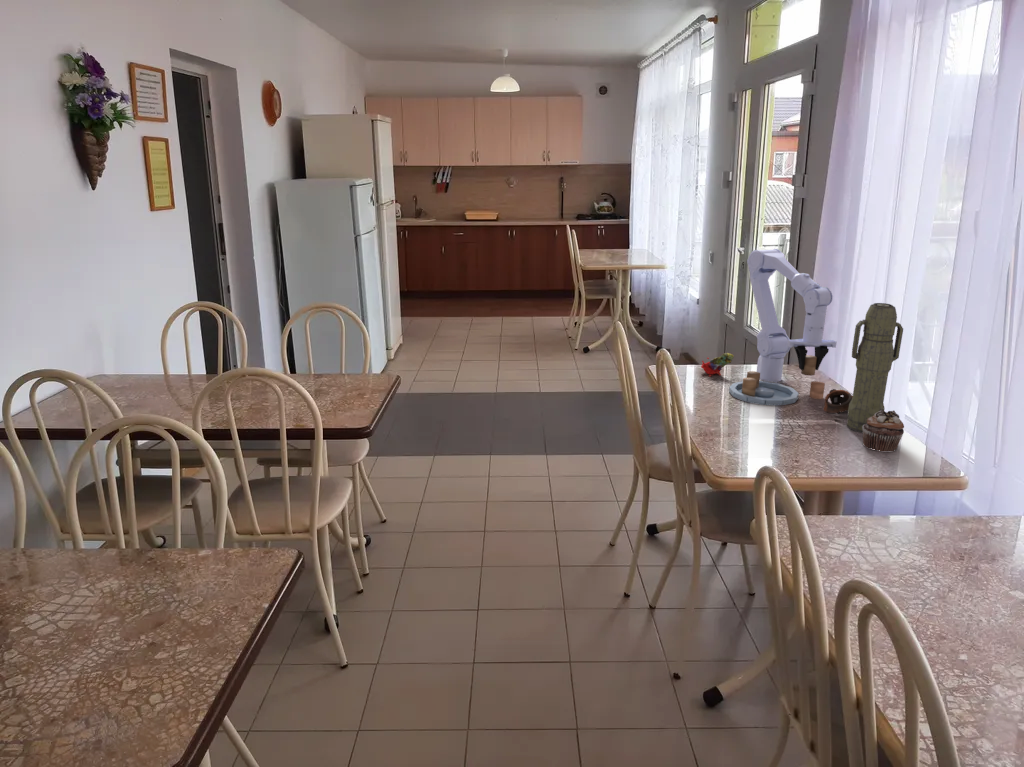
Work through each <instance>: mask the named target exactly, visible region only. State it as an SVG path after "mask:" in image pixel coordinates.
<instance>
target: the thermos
mask: <svg viewBox="0 0 1024 767" xmlns="http://www.w3.org/2000/svg"><path fill="white" fill-rule="evenodd" d="M897 320H898V314H897V309H896V306H894V305H893V304H891V303H887V302H886V303H884V302H883V303H882V302H875V303H873V304H870V305H869V307H868V310H866V314H865V318H864V319H862V320H859V321H858V322H857V323H856V325H855V329H854V334H853V336H854V337H853V341H852V347H851V358H853V359H855V367H856V372H855V379H854V385H853V392H852V396H853V397H852V400H851V401H850V403H849V409H848V411H847V416H846V417H847V423H846V427H847V428H848V429H850V430H851V431H854V432H858V433H861V434H863V429H862V427H863V425H865V424H867V419H868V418H870V417H872V416H874V415H875V413H877V412H879V411H881V409H882V410H884V411H885V404H884V401H885V394H886V388H887V385H888V384H887V382H888V377H889V373H890V371H891V370H892V365H893V363H894V362H895V361H896V360H898V359H899V356H900V350H901V346H902V340H903V334H904V333H903V332H904V328H903V326H902V324H901V323H900V322H897ZM862 326H863V330H862V331H863V335H862V337H861V341H860V335H861V329H862ZM896 329H897V330H896ZM895 331H896V333H895ZM895 334H896V336H895ZM894 336H895V341H894V339H893V338H894ZM859 341H860V343H859ZM893 344H894V345H893Z"/></svg>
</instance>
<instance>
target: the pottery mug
mask: <svg viewBox="0 0 1024 767" xmlns="http://www.w3.org/2000/svg"><path fill="white" fill-rule="evenodd" d="M852 397H853V394H852V393H850V392H849V391H847V390H845V389H835V388H832V389H831V390H829V393H827V394H826V396H825V397H824V405H823V409H822V410H823V411H824V412H825V413H828V414H829V413H830V414H840V413H844V412H848V409H849V403H850V401H851V400H852ZM829 400H830V401H829Z"/></svg>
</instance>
